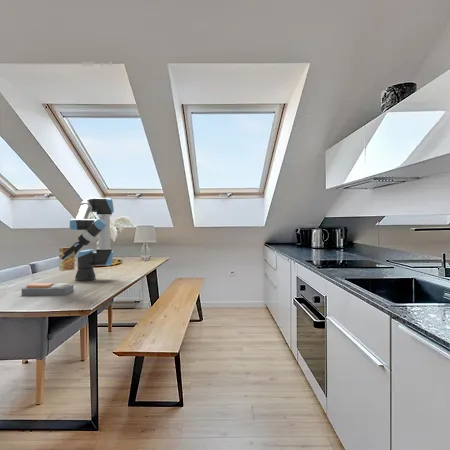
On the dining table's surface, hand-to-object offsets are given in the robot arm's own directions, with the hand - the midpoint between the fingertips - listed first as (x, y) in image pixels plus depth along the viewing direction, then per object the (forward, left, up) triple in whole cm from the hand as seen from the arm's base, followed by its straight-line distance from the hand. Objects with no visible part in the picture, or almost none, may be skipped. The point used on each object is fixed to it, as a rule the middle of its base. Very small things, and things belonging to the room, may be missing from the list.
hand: (62, 261), depth 232 cm
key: (+10, -9, -16) cm, 21 cm away
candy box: (0, +3, -6) cm, 7 cm away
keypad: (+10, -4, -19) cm, 22 cm away
